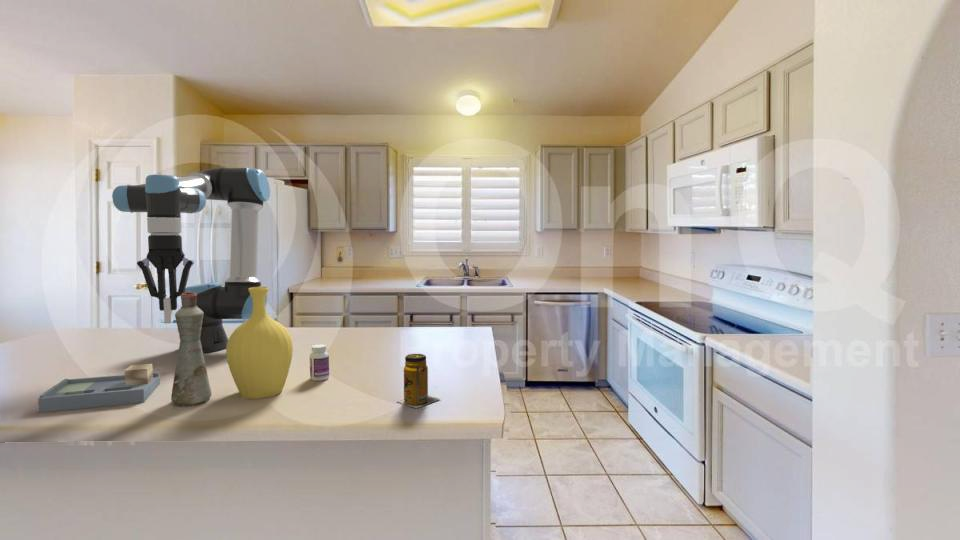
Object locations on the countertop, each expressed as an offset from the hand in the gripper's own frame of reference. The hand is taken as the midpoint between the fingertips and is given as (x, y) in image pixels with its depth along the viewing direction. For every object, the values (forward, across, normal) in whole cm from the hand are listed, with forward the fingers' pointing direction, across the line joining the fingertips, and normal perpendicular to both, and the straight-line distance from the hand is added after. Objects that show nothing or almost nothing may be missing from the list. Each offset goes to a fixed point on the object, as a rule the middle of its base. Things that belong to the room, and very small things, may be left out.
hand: (169, 322), depth 132 cm
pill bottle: (+18, -38, +4) cm, 42 cm away
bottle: (+18, -7, +13) cm, 24 cm away
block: (+16, +8, 0) cm, 17 cm away
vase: (+18, -23, +11) cm, 32 cm away
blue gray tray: (+18, +14, +3) cm, 23 cm away
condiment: (+18, -61, +31) cm, 71 cm away
